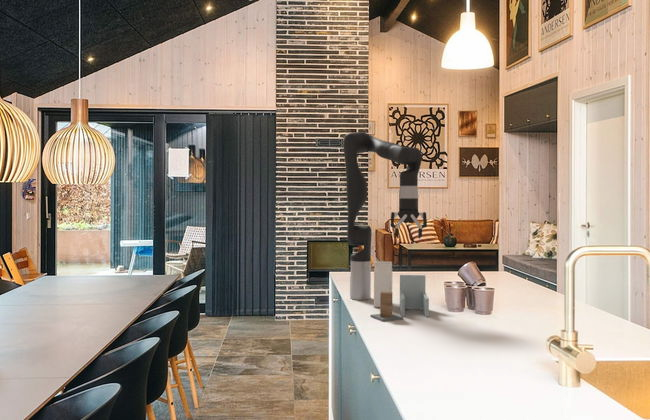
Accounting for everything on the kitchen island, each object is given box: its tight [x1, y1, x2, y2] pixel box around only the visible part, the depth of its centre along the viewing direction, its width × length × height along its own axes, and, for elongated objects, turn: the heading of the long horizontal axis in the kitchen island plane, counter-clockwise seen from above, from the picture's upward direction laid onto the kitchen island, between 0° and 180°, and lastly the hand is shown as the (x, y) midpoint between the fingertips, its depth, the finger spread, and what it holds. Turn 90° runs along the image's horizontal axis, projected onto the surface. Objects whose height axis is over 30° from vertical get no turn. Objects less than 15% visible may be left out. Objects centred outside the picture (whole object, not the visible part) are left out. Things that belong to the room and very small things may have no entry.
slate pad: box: [370, 313, 404, 322], centre depth 216 cm, size 9×9×1 cm
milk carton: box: [373, 260, 393, 308], centre depth 240 cm, size 7×7×19 cm
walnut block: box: [379, 291, 393, 317], centre depth 216 cm, size 4×4×9 cm
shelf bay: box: [399, 274, 430, 318], centre depth 227 cm, size 16×10×14 cm, turn 175°
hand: (408, 238), depth 225 cm, fingers open, 8 cm apart
